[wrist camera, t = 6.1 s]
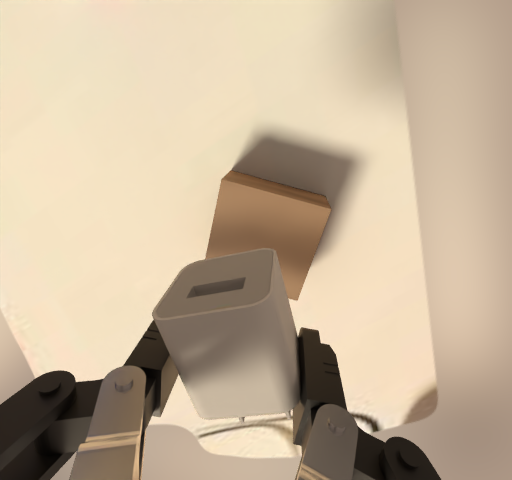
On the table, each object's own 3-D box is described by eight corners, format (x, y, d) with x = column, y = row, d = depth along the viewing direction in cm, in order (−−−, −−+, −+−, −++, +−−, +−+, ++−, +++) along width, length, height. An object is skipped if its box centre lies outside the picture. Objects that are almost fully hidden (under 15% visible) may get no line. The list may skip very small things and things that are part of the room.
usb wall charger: (277, 245, 12) (272, 302, 8) (308, 373, 14) (316, 462, 11) (185, 263, 13) (143, 323, 9) (230, 381, 15) (212, 467, 11)
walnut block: (231, 169, 24) (221, 179, 21) (324, 195, 24) (331, 209, 21) (213, 253, 28) (201, 274, 24) (295, 276, 28) (297, 300, 24)
